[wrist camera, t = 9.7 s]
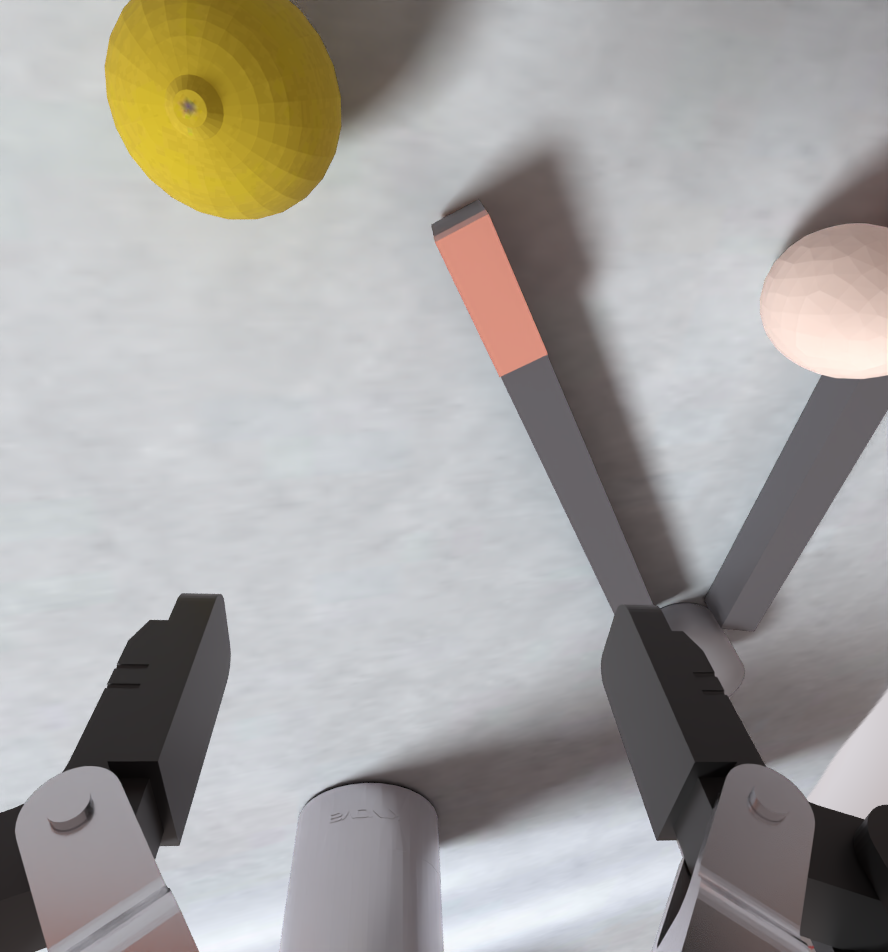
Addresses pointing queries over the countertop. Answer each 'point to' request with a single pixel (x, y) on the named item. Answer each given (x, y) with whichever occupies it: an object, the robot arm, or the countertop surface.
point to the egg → (831, 302)
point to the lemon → (224, 102)
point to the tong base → (783, 517)
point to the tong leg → (537, 394)
